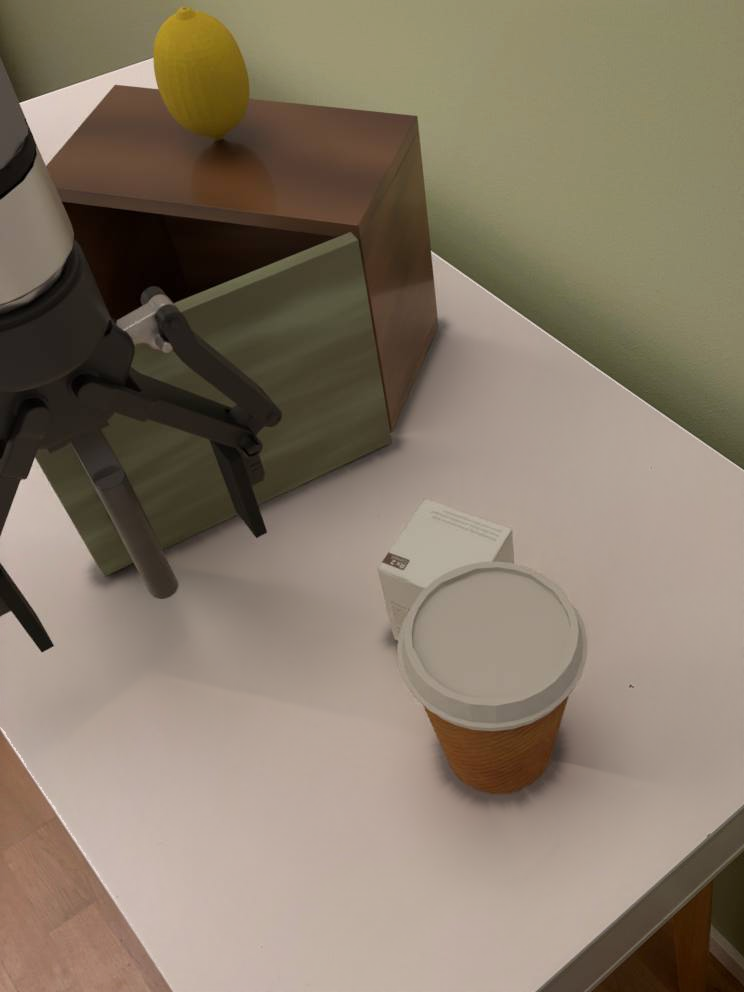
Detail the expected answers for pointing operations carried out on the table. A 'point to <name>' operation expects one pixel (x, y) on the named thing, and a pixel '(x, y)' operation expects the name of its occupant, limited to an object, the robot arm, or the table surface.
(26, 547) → the table surface
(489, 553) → the white cardboard box
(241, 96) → the lemon
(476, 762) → the disposable coffee cup
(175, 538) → the cupboard door
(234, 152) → the cupboard
